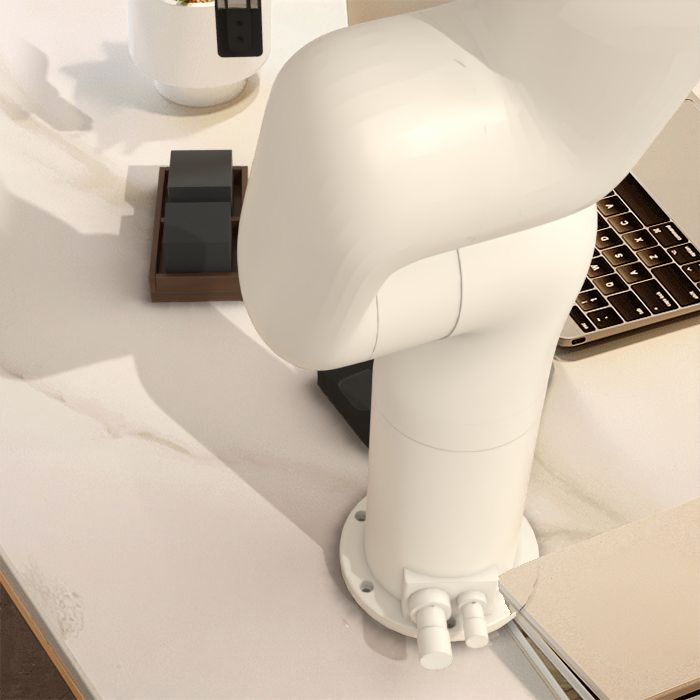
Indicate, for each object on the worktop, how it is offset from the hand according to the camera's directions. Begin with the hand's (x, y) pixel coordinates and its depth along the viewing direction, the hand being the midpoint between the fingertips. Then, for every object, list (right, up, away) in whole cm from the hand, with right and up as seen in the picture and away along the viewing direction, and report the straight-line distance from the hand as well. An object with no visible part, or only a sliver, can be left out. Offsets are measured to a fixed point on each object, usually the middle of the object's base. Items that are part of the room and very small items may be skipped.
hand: (240, 50), depth 90 cm
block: (-4, -14, +10) cm, 18 cm away
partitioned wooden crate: (-4, -13, +13) cm, 19 cm away
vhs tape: (+13, -24, +2) cm, 27 cm away
